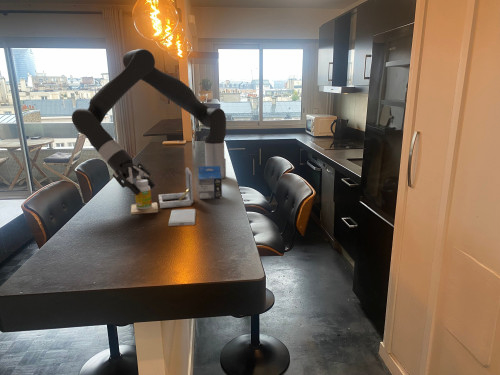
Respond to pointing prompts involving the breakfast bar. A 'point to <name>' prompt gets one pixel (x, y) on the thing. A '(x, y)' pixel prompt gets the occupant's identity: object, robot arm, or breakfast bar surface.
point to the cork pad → (140, 211)
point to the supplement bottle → (143, 195)
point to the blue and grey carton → (210, 182)
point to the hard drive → (182, 217)
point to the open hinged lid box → (179, 195)
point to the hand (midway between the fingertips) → (146, 190)
